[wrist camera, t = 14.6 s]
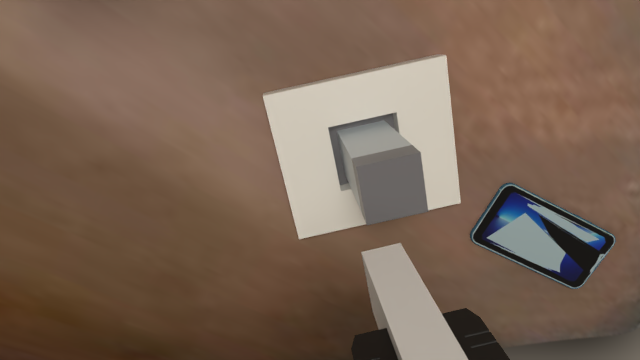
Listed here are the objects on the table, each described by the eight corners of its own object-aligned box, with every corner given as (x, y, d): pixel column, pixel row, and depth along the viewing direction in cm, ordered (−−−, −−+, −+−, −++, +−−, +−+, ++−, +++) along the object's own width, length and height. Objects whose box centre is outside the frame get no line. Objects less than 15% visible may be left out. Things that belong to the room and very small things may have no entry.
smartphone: (507, 180, 42) (620, 237, 45) (502, 176, 43) (613, 233, 46) (467, 240, 44) (578, 292, 46) (463, 236, 44) (572, 287, 47)
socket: (298, 230, 42) (298, 239, 40) (263, 93, 37) (262, 95, 36) (453, 196, 42) (460, 202, 40) (438, 54, 37) (446, 55, 36)
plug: (345, 175, 40) (367, 225, 30) (336, 130, 39) (355, 166, 28) (391, 165, 40) (428, 211, 30) (384, 120, 39) (420, 152, 28)
